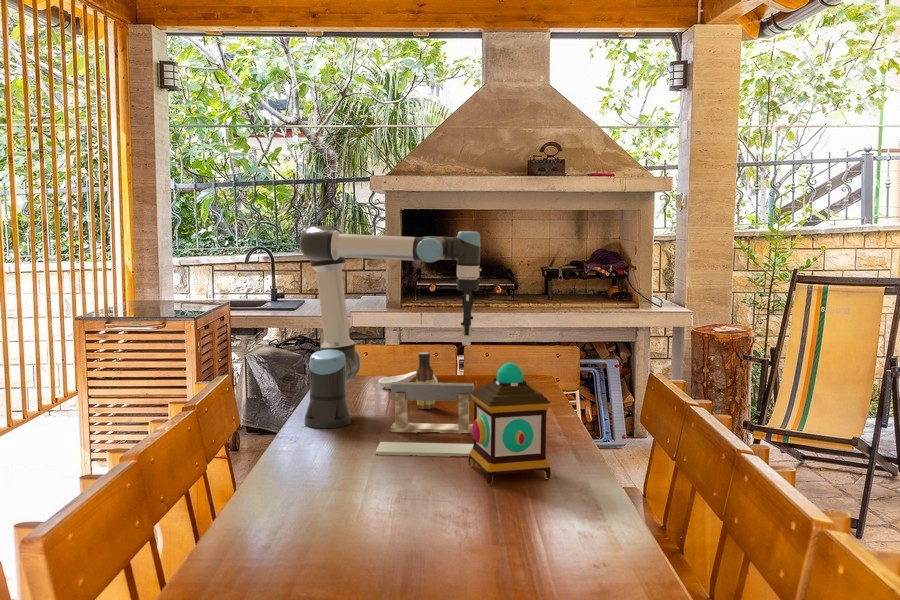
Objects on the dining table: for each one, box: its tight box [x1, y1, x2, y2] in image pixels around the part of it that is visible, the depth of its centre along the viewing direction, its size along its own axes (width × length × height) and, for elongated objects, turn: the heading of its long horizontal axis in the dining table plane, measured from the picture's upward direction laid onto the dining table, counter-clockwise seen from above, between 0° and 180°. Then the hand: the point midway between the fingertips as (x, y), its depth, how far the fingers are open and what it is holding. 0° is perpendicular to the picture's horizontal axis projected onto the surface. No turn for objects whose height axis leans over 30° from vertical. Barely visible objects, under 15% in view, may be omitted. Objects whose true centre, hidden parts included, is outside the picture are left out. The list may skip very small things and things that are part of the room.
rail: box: [390, 381, 475, 402], centre depth 270 cm, size 26×4×5 cm, turn 86°
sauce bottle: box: [415, 351, 436, 410], centre depth 300 cm, size 7×6×20 cm
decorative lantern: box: [468, 361, 551, 486], centre depth 225 cm, size 20×20×30 cm
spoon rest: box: [377, 370, 439, 390], centre depth 335 cm, size 24×12×7 cm, turn 91°
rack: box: [390, 393, 473, 434], centre depth 270 cm, size 26×7×12 cm, turn 86°
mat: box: [374, 441, 474, 457], centre depth 247 cm, size 28×10×1 cm, turn 86°
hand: (466, 342), depth 282 cm, fingers open, 13 cm apart
